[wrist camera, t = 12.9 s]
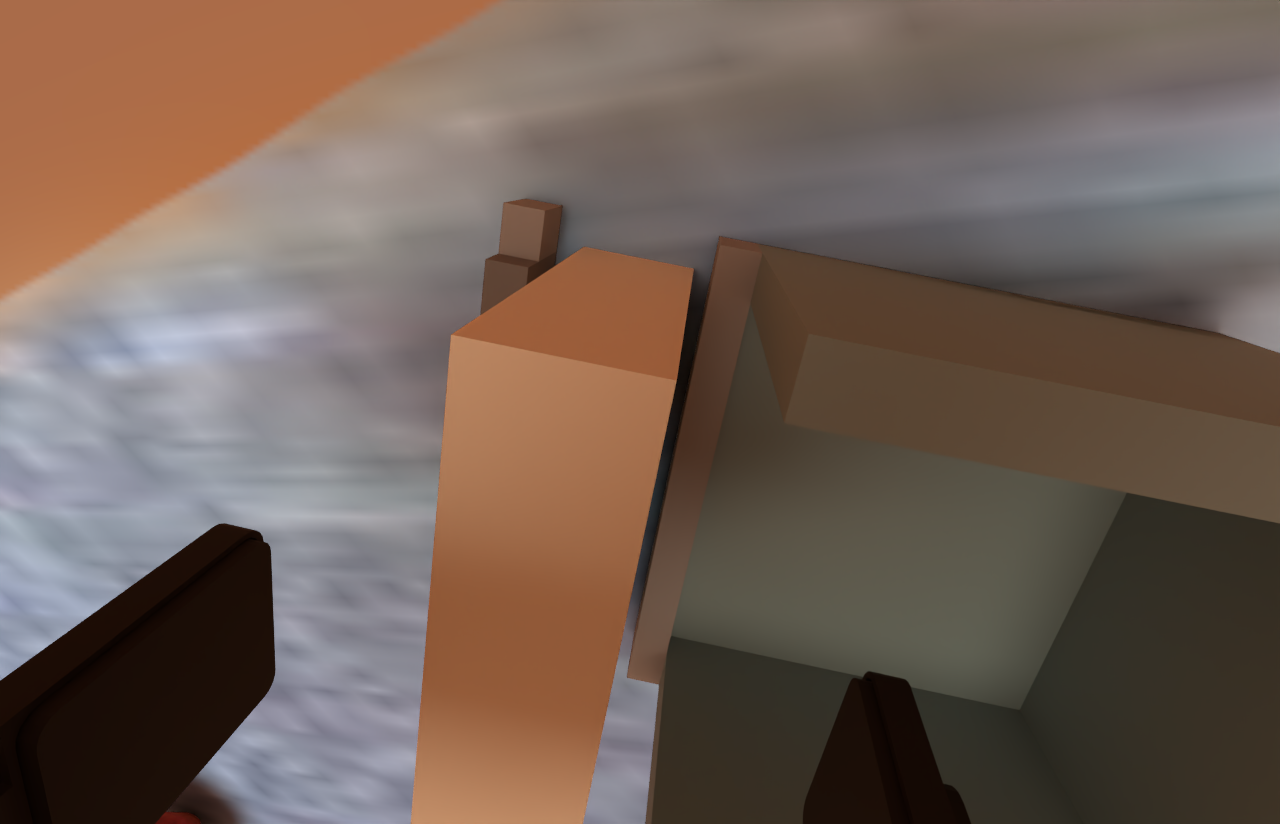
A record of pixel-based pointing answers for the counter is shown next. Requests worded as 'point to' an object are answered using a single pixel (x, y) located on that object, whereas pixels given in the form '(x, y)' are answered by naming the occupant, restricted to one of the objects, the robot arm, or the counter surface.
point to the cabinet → (958, 544)
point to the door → (541, 533)
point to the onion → (178, 818)
